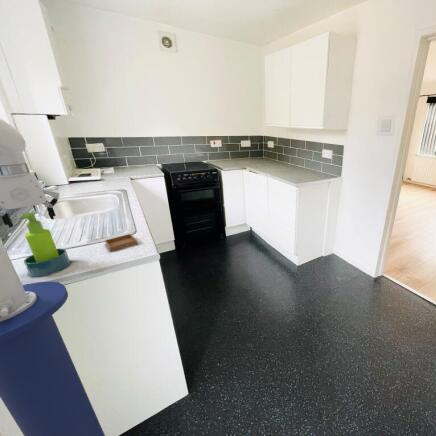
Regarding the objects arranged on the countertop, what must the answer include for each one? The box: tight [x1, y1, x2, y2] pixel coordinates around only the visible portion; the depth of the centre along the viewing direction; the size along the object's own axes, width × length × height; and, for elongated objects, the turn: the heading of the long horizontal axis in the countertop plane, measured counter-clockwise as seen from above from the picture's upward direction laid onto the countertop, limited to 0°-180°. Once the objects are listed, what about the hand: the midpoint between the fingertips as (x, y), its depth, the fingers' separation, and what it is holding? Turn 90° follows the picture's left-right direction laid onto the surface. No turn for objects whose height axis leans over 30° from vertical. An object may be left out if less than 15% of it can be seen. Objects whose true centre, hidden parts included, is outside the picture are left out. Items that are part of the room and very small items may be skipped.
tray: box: [104, 233, 138, 253], centre depth 103 cm, size 10×10×2 cm
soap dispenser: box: [19, 211, 59, 263], centre depth 83 cm, size 6×7×20 cm
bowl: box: [23, 248, 71, 278], centre depth 85 cm, size 11×11×5 cm
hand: (32, 222), depth 81 cm, fingers open, 9 cm apart
